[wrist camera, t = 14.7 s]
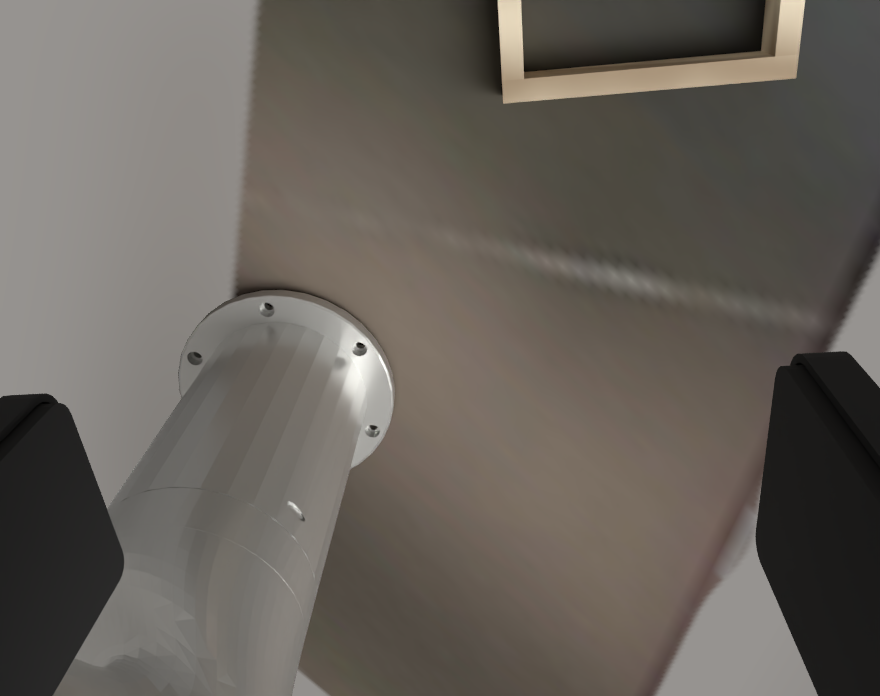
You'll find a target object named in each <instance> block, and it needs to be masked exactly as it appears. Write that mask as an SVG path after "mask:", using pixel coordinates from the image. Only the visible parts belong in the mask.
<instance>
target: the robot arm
mask: <svg viewBox="0 0 880 696" xmlns="http://www.w3.org/2000/svg"><path fill="white" fill-rule="evenodd" d="M267 303H270V304H271V305H272V306H273V307H270V306H268V305H267ZM358 342H360V343H363V344H364V345H359V344H358ZM178 376H179V388H180V394H181V397H182V399H181V400H180V402H179V403H178V405H177V407H176V408H175V409H174V411H173V412H172V414H171V415H170V417H169V418H168V420H167V421H166V423H165V424H164V426H163V427H162V428H161V430H160V431H159V433H158V434H157V436H156V438H155V439H154V441H153V442H152V443H151V445H150V446H149V448H148V449H147V451H146V452H145V454H144V455H143V457H142V458H141V460H140V461H139V462H138V464H137V466H136V467H135V468H134V470H133V471H132V473H131V474H130V476H129V477H128V479H127V480H126V482H125V483H124V485H123V486H122V488H121V489H120V490H119V492H118V493H117V495H116V496H115V498H114V499H113V501H112V502H111V504H110V505H109V507H108V508H106V505H105V503H104V500H103V497H102V495H101V492H100V489H99V487H98V484H97V481H96V479H95V476H94V473H93V471H92V468H91V465H90V463H89V460H88V457H87V455H86V452H85V449H84V447H83V444H82V441H81V439H80V436H79V433H78V431H77V428H76V426H75V423H74V420H73V418H72V415H71V413H70V411H69V409H68V408H67V407H66V406H65V405H64V404H61V403H58V402H57V400H56V399H55V398H54V397H53V396H51V395H49V394H28V395H10V396H3V397H1V398H0V696H292V691H293V687H294V682H295V678H296V673H297V669H298V665H299V661H300V657H301V653H302V648H303V644H304V640H305V637H306V633H307V629H308V625H309V621H310V618H311V614H312V610H313V606H314V602H315V598H316V594H317V591H318V587H319V583H320V579H321V576H322V572H323V568H324V565H325V561H326V557H327V553H328V550H329V546H330V542H331V538H332V535H333V531H334V527H335V524H336V520H337V516H338V512H339V509H340V505H341V501H342V497H343V494H344V490H345V486H346V482H347V479H348V475H349V471H350V469H351V468H353V467H355V466H357V465H358V464H360V463H361V462H362V461H364V460H365V459H366V458H367V457H368V456H369V455H371V454H372V453H373V452H374V450H375V449H376V448H377V446H378V445H379V444H380V442H381V441H382V440H383V438H384V436H385V433H386V431H387V429H388V427H389V424H390V421H391V417H392V412H393V408H394V396H395V388H394V381H393V374H392V371H391V368H390V365H389V363H388V360H387V357H386V355H385V353H384V352H383V350H382V348H381V347H380V345H379V343H378V342H377V340H376V339H375V338H374V336H373V335H372V334H371V333H370V332H369V331H368V330H367V329H366V328H365V326H364V325H363V324H362V323H361V322H359V321H358V320H357V319H355V318H354V317H353V316H352V315H350V314H349V313H348V312H346V311H345V310H343V309H341V308H339V307H338V306H336V305H334V304H332V303H330V302H328V301H326V300H324V299H321V298H318V297H315V296H312V295H309V294H306V293H300V292H294V291H287V290H262V291H257V292H252V293H248V294H243V295H240V296H238V297H236V298H233V299H231V300H228V301H226V302H224V303H223V304H221V305H220V306H218V307H217V308H216V309H214V310H213V311H211V312H210V313H209V314H208V315H207V316H206V317H205V318H204V319H203V320H202V321H201V323H200V324H199V325H198V326H197V327H196V329H195V330H194V331H193V333H192V334H191V336H190V337H189V339H188V340H187V342H186V345H185V347H184V349H183V351H182V354H181V359H180V366H179V372H178ZM374 425H375V426H374ZM756 546H757V552H758V557H759V560H760V563H761V565H762V567H763V570H764V572H765V574H766V576H767V579H768V581H769V583H770V586H771V588H772V590H773V593H774V595H775V597H776V599H777V601H778V604H779V606H780V608H781V611H782V613H783V616H784V618H785V620H786V623H787V625H788V627H789V629H790V632H791V634H792V636H793V639H794V641H795V643H796V646H797V648H798V650H799V652H800V654H801V657H802V659H803V662H804V664H805V666H806V669H807V671H808V673H809V676H810V678H811V680H812V682H813V685H814V687H815V689H816V692H817V694H818V696H880V388H879V387H878V386H877V384H876V383H875V382H874V381H873V380H872V379H871V378H870V376H869V375H868V374H867V373H866V372H865V371H864V369H863V368H862V367H861V366H860V365H859V364H858V363H857V362H856V360H855V359H854V358H853V357H852V356H851V355H850V354H849V353H847V352H824V353H805V354H796V355H795V356H794V357H793V359H792V361H791V364H790V366H780V367H779V368H778V370H777V372H776V377H775V383H774V391H773V399H772V407H771V415H770V423H769V431H768V439H767V447H766V455H765V463H764V471H763V479H762V487H761V495H760V503H759V511H758V519H757V527H756Z"/></svg>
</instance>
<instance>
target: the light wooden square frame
mask: <svg viewBox="0 0 880 696" xmlns="http://www.w3.org/2000/svg"><path fill="white" fill-rule="evenodd" d="M804 5H805V0H766V3H765V14H764V24H763V35H762V45H761V51H754V52H743V53H732V54H720V55H709V56H698V57H687V58H676V59H665V60H654V61H643V62H631V63H620V64H609V65H598V66H587V67H576V68H565V69H553V70H542V71H531V72H524V63H523V39H522V14H521V0H498V17H499V36H500V54H501V73H502V91H503V103H514V102H526V101H538V100H549V99H561V98H572V97H584V96H596V95H607V94H619V93H631V92H642V91H654V90H665V89H677V88H689V87H700V86H712V85H723V84H735V83H747V82H758V81H770V80H781V79H793V78H796V74H797V65H798V56H799V48H800V39H801V31H802V22H803V13H804Z"/></svg>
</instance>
